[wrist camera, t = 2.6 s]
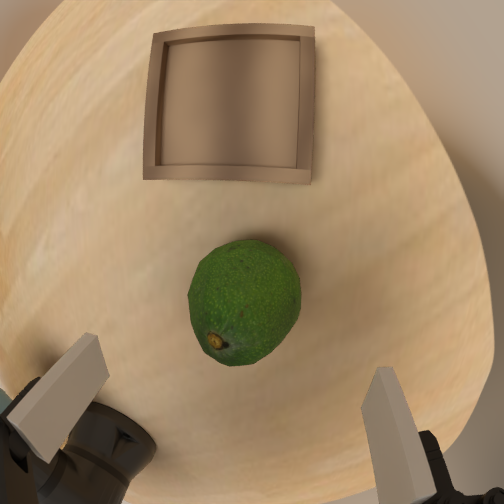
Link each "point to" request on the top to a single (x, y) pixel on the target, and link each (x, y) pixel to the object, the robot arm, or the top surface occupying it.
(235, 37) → the base
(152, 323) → the top surface
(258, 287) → the avocado
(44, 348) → the top surface
